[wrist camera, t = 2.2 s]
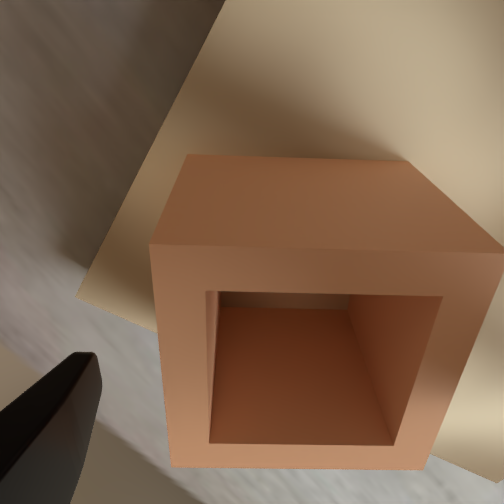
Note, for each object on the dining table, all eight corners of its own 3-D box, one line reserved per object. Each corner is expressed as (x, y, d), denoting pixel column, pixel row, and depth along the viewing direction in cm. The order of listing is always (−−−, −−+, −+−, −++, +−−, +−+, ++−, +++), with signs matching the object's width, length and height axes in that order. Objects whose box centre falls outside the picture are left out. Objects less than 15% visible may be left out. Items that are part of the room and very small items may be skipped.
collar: (187, 154, 11) (148, 244, 7) (408, 161, 11) (511, 253, 7) (194, 327, 14) (171, 467, 10) (369, 330, 14) (423, 469, 10)
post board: (331, -199, 9) (432, -455, 4) (789, 237, 14) (1062, 349, 9) (90, 271, 15) (14, 396, 10) (480, 452, 20) (553, 589, 15)
